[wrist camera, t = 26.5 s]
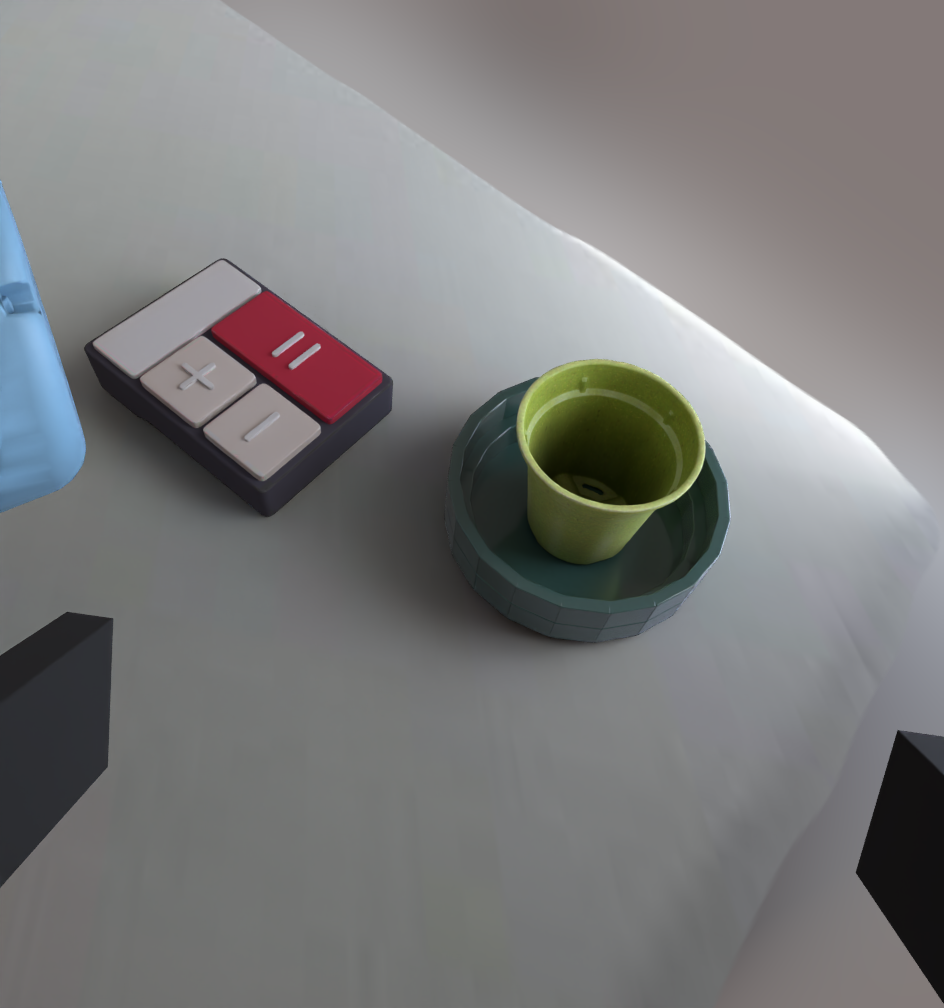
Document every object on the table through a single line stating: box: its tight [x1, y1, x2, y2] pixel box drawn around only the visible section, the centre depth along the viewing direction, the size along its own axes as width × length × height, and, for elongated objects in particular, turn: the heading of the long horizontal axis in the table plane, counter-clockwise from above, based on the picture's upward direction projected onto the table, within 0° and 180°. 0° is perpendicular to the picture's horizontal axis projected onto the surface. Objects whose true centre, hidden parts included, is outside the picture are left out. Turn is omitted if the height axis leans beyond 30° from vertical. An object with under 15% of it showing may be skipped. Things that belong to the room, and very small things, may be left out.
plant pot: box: [516, 359, 706, 564], centre depth 41 cm, size 9×9×9 cm
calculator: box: [84, 259, 393, 516], centre depth 46 cm, size 11×4×15 cm
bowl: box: [444, 377, 731, 643], centre depth 43 cm, size 15×15×4 cm
